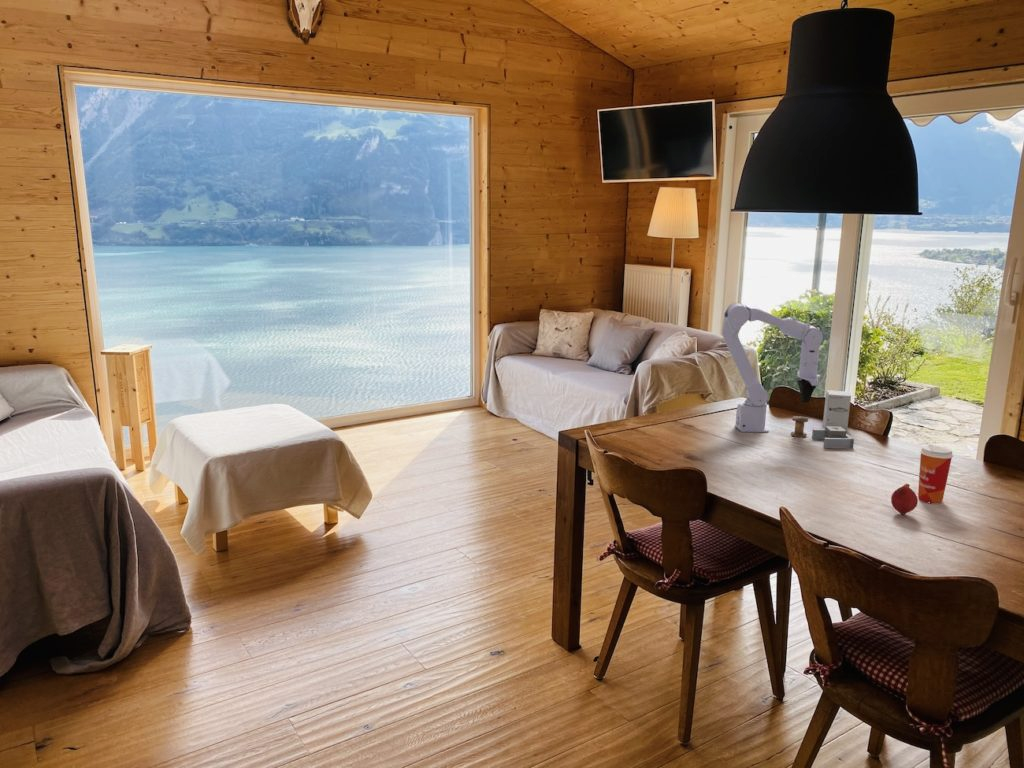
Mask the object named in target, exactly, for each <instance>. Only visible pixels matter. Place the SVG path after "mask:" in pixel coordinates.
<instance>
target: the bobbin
mask: <svg viewBox="0 0 1024 768" xmlns="http://www.w3.org/2000/svg"><path fill="white" fill-rule="evenodd" d="M791 418H792V421H794V430H793V431H791V432H790V436H791V435H792V436H791V437H793V436H795V437H794V438H799V437H804V438H806V436H808V434H807V433H806V432H804V429H805V423H808V422H809V418H808V417H806V416H800V415H799V416H798V415H796V416H795V415H793V416H792V417H791Z"/></svg>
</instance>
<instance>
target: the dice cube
mask: <svg viewBox="0 0 1024 768" xmlns="http://www.w3.org/2000/svg"><path fill="white" fill-rule="evenodd" d="M824 429H825V436H824V438H846V434H847V431H846V430H845V429H843V428H842V427H833V426H825V428H824Z"/></svg>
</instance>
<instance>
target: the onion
mask: <svg viewBox="0 0 1024 768" xmlns="http://www.w3.org/2000/svg"><path fill="white" fill-rule="evenodd" d="M890 501H891V505H892V507H893V509H895V510H896V511H897V512H898V513H899V514H900V515H906V514H909V513H910V512H912V511H913V510H915V509H916V508H917V506H918V501H919V499H918V495H917V494H916V493H915V491H914V490H913V489H912V488H911V487H910V484H909V483H904V484H903V485H902V486H901V487H899V488H897V489H895V490H894V491H893V492H892V494H891V498H890Z"/></svg>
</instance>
